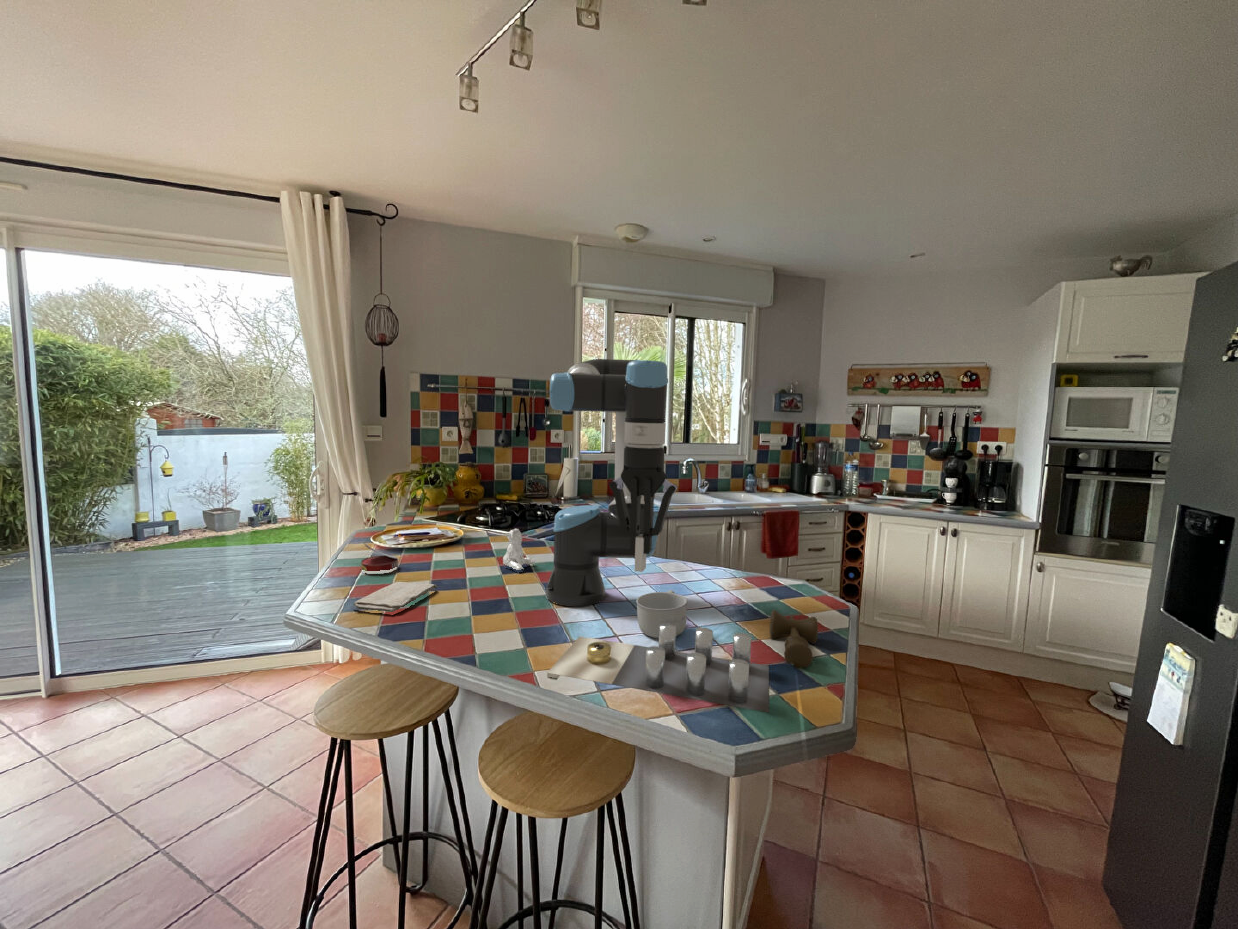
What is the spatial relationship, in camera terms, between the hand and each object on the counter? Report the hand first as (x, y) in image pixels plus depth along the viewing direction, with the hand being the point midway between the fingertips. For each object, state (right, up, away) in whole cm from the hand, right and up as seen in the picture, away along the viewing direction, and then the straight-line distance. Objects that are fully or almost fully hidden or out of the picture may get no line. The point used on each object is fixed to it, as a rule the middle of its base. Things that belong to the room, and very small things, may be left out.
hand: (640, 569), depth 97 cm
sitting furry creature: (-36, -12, +59) cm, 69 cm away
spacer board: (+4, -18, -4) cm, 19 cm away
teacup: (+6, -17, +15) cm, 23 cm away
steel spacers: (+10, -18, -6) cm, 21 cm away
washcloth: (-59, -14, +29) cm, 67 cm away
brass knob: (-8, -17, -1) cm, 19 cm away
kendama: (+32, -18, +9) cm, 38 cm away
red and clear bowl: (-75, -11, +53) cm, 92 cm away
